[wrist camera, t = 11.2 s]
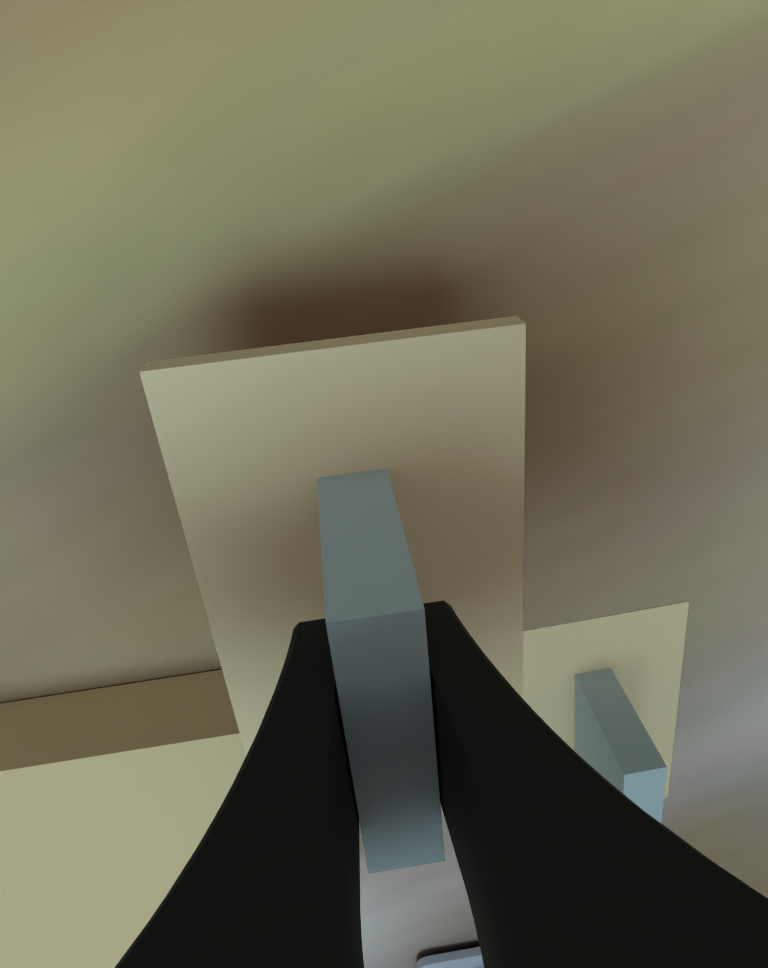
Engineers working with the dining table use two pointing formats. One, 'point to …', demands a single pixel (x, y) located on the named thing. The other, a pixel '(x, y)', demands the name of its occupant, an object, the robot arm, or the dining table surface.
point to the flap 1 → (356, 530)
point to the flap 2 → (613, 694)
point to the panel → (105, 811)
